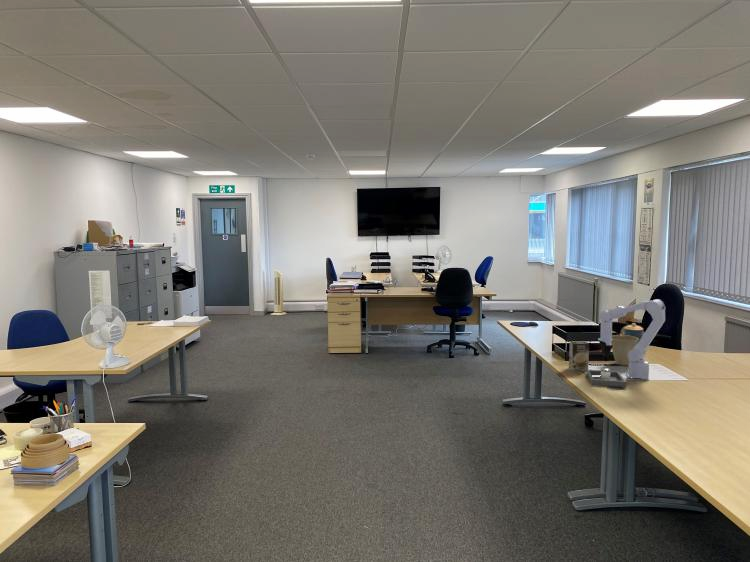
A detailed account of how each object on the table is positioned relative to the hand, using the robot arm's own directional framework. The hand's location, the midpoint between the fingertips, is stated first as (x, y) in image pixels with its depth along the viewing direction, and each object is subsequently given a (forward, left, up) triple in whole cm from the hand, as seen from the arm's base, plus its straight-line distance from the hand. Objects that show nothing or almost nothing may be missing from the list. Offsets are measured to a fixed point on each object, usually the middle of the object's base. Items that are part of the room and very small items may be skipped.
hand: (605, 354), depth 269 cm
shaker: (+3, +19, -9) cm, 21 cm away
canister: (-27, -58, -10) cm, 65 cm away
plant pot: (-13, -18, -10) cm, 24 cm away
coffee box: (+14, 0, -10) cm, 17 cm away
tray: (+3, +19, -9) cm, 21 cm away
